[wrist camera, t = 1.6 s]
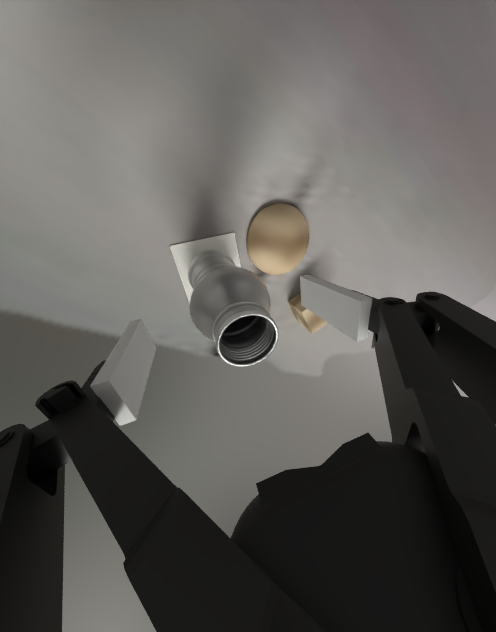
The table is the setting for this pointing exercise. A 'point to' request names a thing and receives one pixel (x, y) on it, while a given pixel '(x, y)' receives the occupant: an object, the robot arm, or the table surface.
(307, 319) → the oak block
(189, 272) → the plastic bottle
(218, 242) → the card
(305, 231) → the cork coaster
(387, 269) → the table surface
